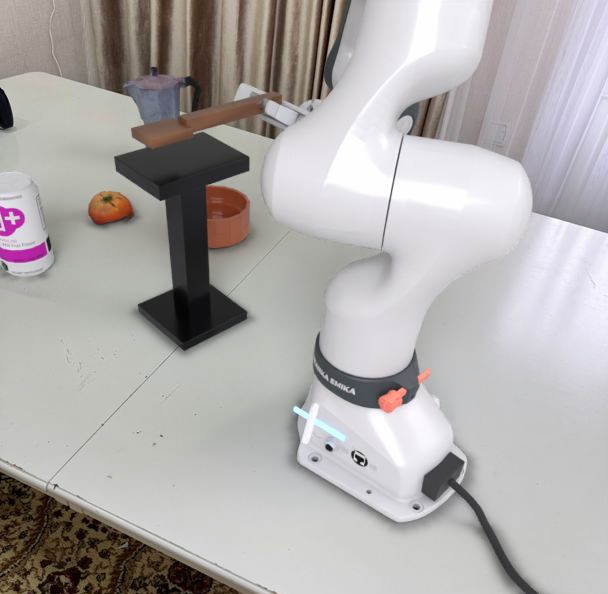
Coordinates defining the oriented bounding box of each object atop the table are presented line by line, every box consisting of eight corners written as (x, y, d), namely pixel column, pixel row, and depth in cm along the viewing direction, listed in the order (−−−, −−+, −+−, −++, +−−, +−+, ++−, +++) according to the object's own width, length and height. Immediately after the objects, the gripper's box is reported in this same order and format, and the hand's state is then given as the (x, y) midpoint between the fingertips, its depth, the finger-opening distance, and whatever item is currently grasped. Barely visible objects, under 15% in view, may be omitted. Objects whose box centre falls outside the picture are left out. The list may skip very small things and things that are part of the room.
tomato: (74, 213, 114) (91, 177, 114) (94, 222, 121) (110, 188, 121) (109, 231, 113) (127, 195, 112) (127, 239, 120) (144, 205, 119)
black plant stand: (252, 316, 98) (254, 159, 81) (178, 354, 90) (163, 189, 73) (205, 281, 104) (198, 128, 87) (132, 314, 96) (109, 153, 79)
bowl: (263, 234, 116) (264, 205, 112) (207, 258, 109) (205, 228, 105) (220, 207, 123) (219, 178, 119) (163, 227, 116) (161, 198, 112)
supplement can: (39, 282, 100) (17, 198, 91) (-8, 274, 101) (-35, 189, 91) (64, 256, 107) (46, 174, 97) (19, 248, 107) (-3, 166, 98)
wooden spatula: (288, 110, 86) (288, 97, 84) (152, 149, 73) (150, 134, 72) (266, 101, 88) (267, 88, 87) (131, 137, 75) (129, 122, 74)
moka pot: (130, 155, 138) (118, 60, 124) (199, 150, 142) (195, 58, 128) (135, 174, 131) (123, 76, 118) (207, 169, 135) (204, 73, 122)
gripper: (278, 91, 99) (218, 57, 88) (374, 133, 89) (319, 101, 78) (262, 129, 101) (201, 101, 90) (355, 175, 91) (299, 149, 79)
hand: (257, 101), depth 84 cm, fingers closed on wooden spatula, 2 cm apart
